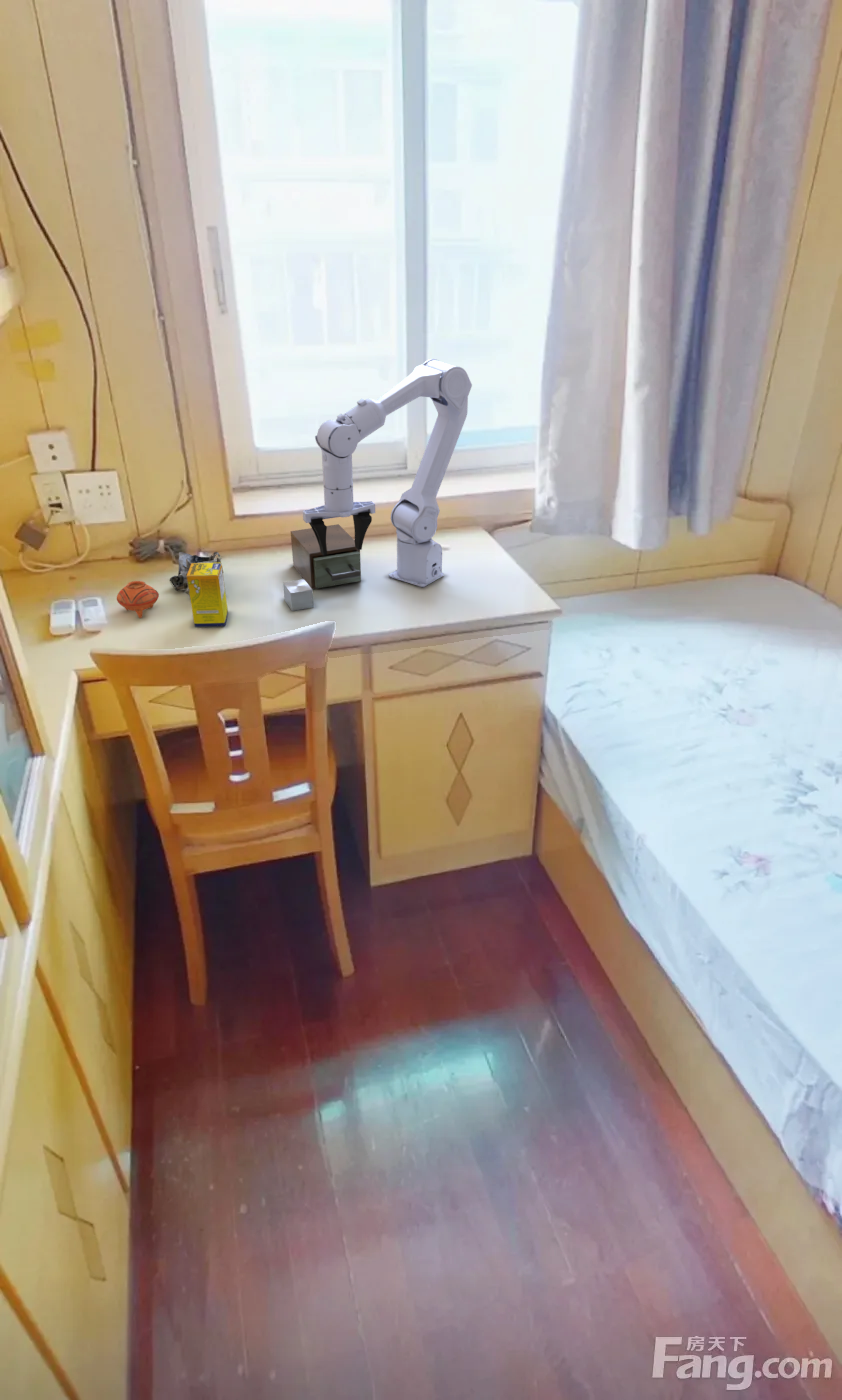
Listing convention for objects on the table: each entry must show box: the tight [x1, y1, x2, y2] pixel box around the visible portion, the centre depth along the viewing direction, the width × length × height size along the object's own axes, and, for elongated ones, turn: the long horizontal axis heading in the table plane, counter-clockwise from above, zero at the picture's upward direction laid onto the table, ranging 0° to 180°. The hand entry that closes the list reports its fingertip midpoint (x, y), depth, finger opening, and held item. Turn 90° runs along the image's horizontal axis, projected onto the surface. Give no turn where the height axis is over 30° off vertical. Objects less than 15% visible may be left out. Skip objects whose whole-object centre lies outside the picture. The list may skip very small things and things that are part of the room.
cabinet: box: [290, 523, 361, 590], centre depth 180 cm, size 14×11×8 cm
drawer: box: [313, 550, 362, 589], centre depth 176 cm, size 18×10×6 cm, turn 24°
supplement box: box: [187, 562, 229, 628], centre depth 160 cm, size 6×6×11 cm
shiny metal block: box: [282, 578, 314, 612], centre depth 168 cm, size 6×4×4 cm
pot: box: [116, 580, 160, 619], centre depth 164 cm, size 8×8×7 cm
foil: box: [169, 551, 224, 596], centre depth 173 cm, size 12×11×15 cm
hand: (341, 550), depth 169 cm, fingers open, 7 cm apart
